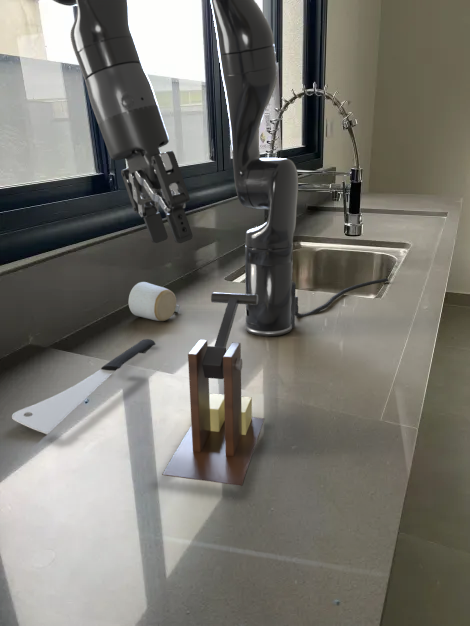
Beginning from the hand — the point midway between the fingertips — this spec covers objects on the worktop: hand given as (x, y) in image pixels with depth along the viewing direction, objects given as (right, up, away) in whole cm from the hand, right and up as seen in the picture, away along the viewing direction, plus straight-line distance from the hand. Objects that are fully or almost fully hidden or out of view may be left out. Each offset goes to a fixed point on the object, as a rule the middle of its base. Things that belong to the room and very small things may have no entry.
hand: (171, 241), depth 64 cm
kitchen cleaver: (-12, -21, +14) cm, 28 cm away
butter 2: (+9, -24, -1) cm, 25 cm away
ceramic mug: (-9, -10, +46) cm, 48 cm away
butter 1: (+5, -24, 0) cm, 24 cm away
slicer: (+6, -26, -4) cm, 27 cm away
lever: (+7, -12, -3) cm, 15 cm away
